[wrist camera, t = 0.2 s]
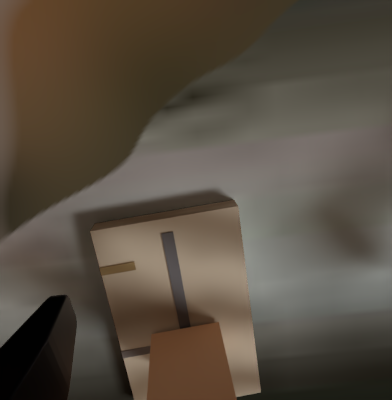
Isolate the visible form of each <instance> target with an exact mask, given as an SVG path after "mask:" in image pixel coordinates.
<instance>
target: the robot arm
mask: <svg viewBox="0 0 392 400" xmlns="http://www.w3.org/2000/svg"><path fill="white" fill-rule="evenodd" d="M76 327H77V321H76V316H75V313H74V310H73V307H72V304H71V301H70V298H69V297H68V296H67V295H57V296H51V297H49V298H48V299H47V300H46V301H45V302H44V303H43V304H42V305H41V306H40V307H39V308H38V309H37V310H36V311H35V312H34V313H33V314H32V315H31V316H30V317H29V318H28V319H27V321H26V322H25V323H24V324H23V325H22V326H21V327H20V328H19V329H18V330H17V331H16V332H15V333H14V334H13V335H12V336H11V337H10V338H9V339H8V340H7V342H6V343H5V344H4V345H3V346H2V347H1V348H0V400H67V397H68V392H69V387H70V379H71V371H72V362H73V353H74V345H75V336H76Z"/></svg>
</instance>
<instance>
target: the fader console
mask: <svg viewBox="0 0 392 400" xmlns="http://www.w3.org/2000/svg"><path fill="white" fill-rule="evenodd" d="M90 233H91V237H92V240H93V244H94V248H95V252H96V256H97V259H98V263H99V267H100V268H99V269H100V273H101V276H102V279H103V282H104V286H105V290H106V294H107V298H108V302H109V305H110V309H111V313H112V317H113V321H114V324H115V328H116V332H117V336H118V340H119V344H120V347H121V353H122V357H123V359H124V363H125V367H126V370H127V374H128V378H129V382H130V386H131V389H132V393H133V397H134V400H147V389H148V375H149V361H150V347H151V334H155V333H161V332H166V331H172V330H177V329H183V328H188V327H194V326H199V325H205V324H210V323H216V322H219V325H220V329H221V334H222V338H223V343H224V347H225V351H226V356H227V360H228V364H229V369H230V373H231V377H232V382H233V386H234V390H235V395H236V397H239V396H244V395H249V394H255V393H260V392H261V389H260V381H259V373H258V365H257V356H256V348H255V340H254V332H253V324H252V316H251V308H250V300H249V291H248V283H247V275H246V267H245V259H244V251H243V243H242V234H241V226H240V218H239V210H238V205H237V204H236V202H235V201H234V200H230V201H225V202H219V203H213V204H207V205H201V206H195V207H189V208H183V209H178V210H172V211H166V212H160V213H154V214H148V215H142V216H137V217H131V218H125V219H119V220H113V221H107V222H101V223H95V224H94V226H93V227H92V229H91V231H90Z"/></svg>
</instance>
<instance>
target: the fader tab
mask: <svg viewBox="0 0 392 400" xmlns="http://www.w3.org/2000/svg"><path fill="white" fill-rule="evenodd" d="M147 400H237V399H236V395H235V390H234V386H233V382H232V377H231V373H230V369H229V364H228V360H227V356H226V351H225V347H224V343H223V338H222V334H221V329H220V325H219V322H216V323H210V324H205V325H199V326H194V327H188V328H183V329H177V330H172V331H166V332H161V333H155V334H151V347H150V361H149V375H148V389H147Z"/></svg>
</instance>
